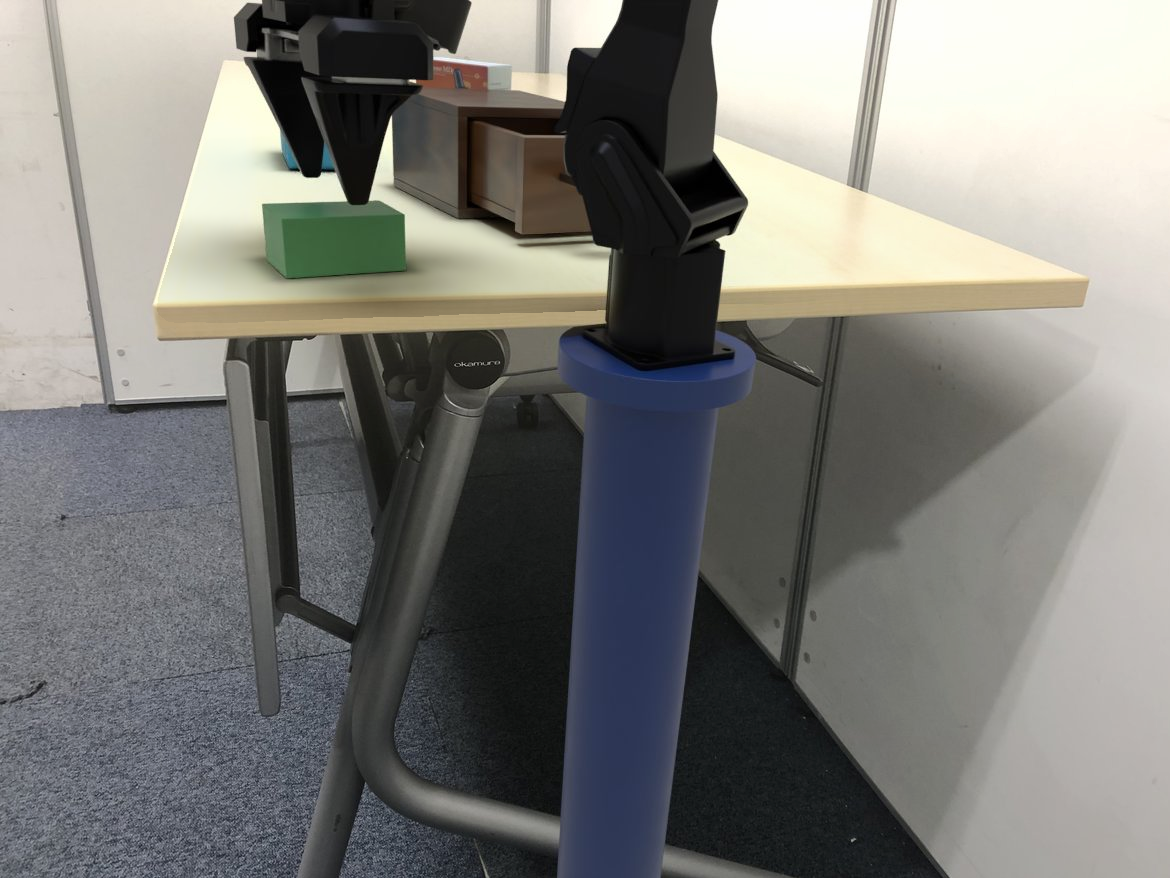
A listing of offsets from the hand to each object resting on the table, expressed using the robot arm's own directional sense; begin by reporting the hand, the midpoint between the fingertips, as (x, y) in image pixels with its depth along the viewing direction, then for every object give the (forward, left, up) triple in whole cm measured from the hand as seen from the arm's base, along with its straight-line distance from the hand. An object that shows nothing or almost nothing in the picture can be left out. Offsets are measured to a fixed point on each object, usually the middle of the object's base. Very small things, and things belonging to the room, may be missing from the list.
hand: (333, 190), depth 61 cm
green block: (0, 0, -5) cm, 5 cm away
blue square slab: (+41, -10, -5) cm, 42 cm away
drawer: (+7, -20, -4) cm, 21 cm away
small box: (+35, -24, -5) cm, 42 cm away
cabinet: (+20, -20, -5) cm, 28 cm away
